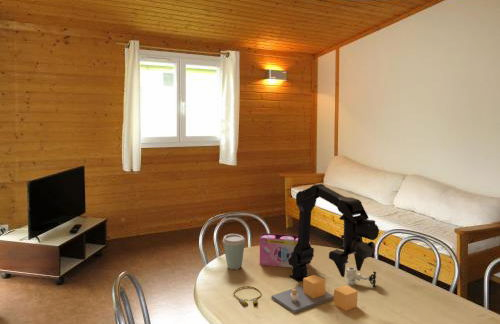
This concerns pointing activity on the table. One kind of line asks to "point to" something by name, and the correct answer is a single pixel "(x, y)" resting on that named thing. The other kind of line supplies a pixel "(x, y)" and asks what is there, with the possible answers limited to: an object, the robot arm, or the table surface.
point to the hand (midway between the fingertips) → (350, 273)
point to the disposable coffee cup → (234, 250)
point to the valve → (358, 276)
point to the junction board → (304, 295)
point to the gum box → (277, 249)
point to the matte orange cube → (345, 297)
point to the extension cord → (252, 299)
